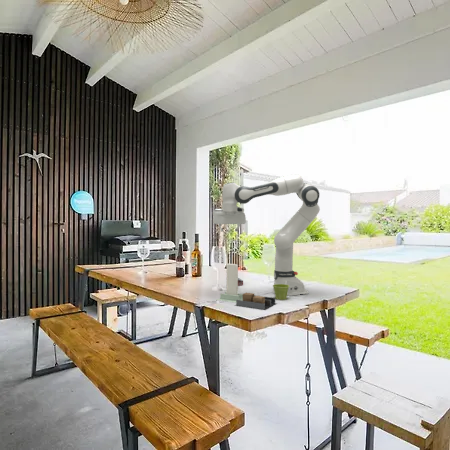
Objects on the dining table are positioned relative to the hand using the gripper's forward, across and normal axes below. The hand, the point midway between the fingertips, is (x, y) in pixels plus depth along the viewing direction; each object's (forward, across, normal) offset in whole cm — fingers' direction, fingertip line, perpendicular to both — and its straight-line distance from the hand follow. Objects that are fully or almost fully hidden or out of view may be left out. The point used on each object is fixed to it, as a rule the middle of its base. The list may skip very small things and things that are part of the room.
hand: (229, 231), depth 218 cm
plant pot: (+39, +27, -20) cm, 52 cm away
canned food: (+40, +10, +30) cm, 51 cm away
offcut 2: (+38, +10, -36) cm, 53 cm away
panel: (+38, -1, -18) cm, 42 cm away
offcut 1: (+38, +5, -32) cm, 50 cm away
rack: (+39, +9, -32) cm, 51 cm away
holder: (+39, -1, -18) cm, 43 cm away
